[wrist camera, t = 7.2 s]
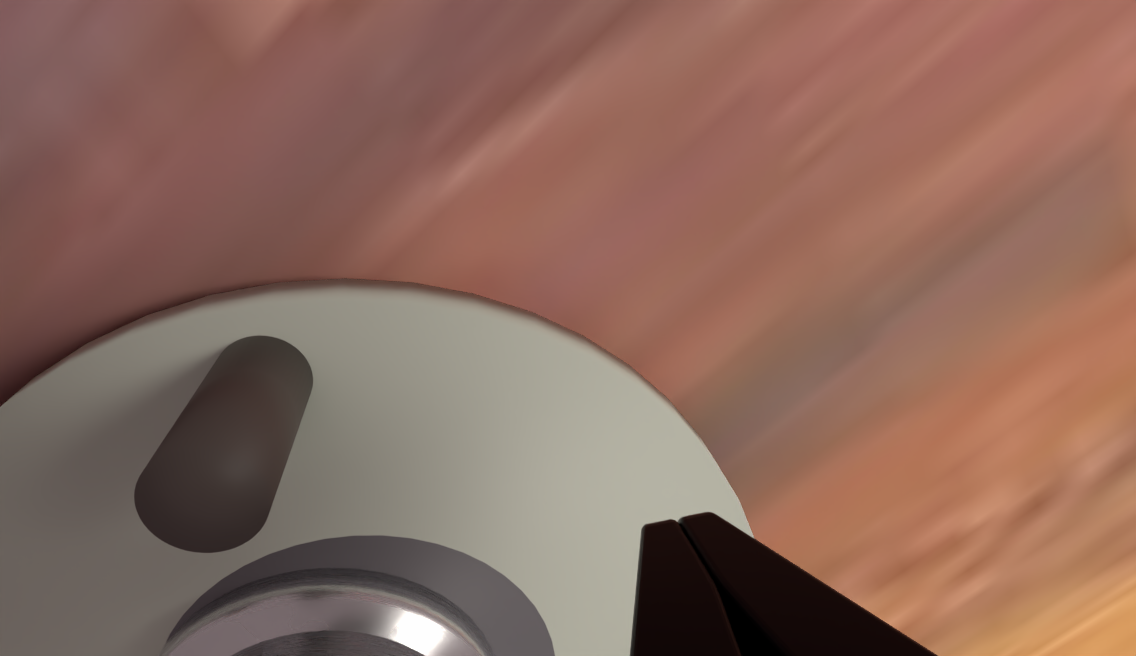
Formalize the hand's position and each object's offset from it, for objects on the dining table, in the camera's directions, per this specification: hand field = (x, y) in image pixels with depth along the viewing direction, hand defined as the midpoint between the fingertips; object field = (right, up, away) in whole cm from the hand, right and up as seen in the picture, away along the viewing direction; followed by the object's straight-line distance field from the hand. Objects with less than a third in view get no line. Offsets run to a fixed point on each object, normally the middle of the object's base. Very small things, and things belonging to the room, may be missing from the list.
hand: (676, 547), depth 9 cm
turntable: (-6, -5, +11) cm, 14 cm away
